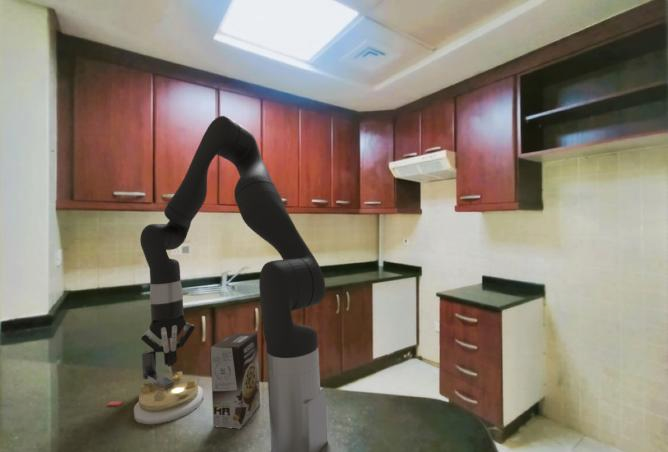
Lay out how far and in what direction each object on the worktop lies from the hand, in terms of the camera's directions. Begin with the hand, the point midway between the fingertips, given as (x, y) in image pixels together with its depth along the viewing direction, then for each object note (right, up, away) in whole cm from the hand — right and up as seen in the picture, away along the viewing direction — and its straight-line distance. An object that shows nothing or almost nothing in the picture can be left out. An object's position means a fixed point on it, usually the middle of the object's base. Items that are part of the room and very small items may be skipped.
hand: (170, 365), depth 81 cm
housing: (+5, -5, -10) cm, 12 cm away
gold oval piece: (+3, -3, -8) cm, 9 cm away
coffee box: (+23, -4, -16) cm, 28 cm away
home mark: (-9, -6, -8) cm, 13 cm away
